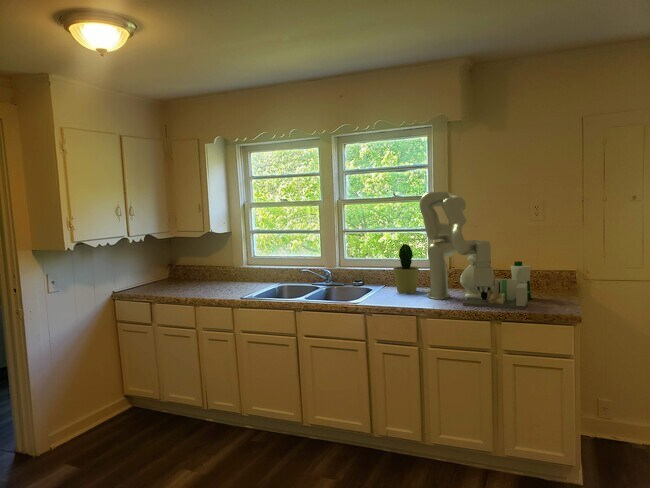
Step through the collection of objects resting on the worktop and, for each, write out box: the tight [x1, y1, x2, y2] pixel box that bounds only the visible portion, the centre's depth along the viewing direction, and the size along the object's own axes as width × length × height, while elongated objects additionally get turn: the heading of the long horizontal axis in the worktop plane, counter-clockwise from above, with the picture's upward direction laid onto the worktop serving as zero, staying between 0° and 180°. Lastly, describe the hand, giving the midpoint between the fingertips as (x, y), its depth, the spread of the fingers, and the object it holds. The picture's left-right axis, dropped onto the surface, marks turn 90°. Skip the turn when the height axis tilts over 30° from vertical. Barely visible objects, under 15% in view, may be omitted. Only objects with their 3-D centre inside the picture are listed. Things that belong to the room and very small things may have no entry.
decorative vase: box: [459, 254, 481, 298], centre depth 277 cm, size 18×18×25 cm
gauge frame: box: [462, 278, 528, 310], centre depth 254 cm, size 30×13×12 cm, turn 62°
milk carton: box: [509, 260, 533, 301], centre depth 264 cm, size 9×9×20 cm
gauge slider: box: [488, 282, 505, 304], centre depth 254 cm, size 7×10×9 cm
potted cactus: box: [392, 243, 419, 295], centre depth 298 cm, size 15×15×30 cm
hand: (484, 299), depth 255 cm, fingers closed
